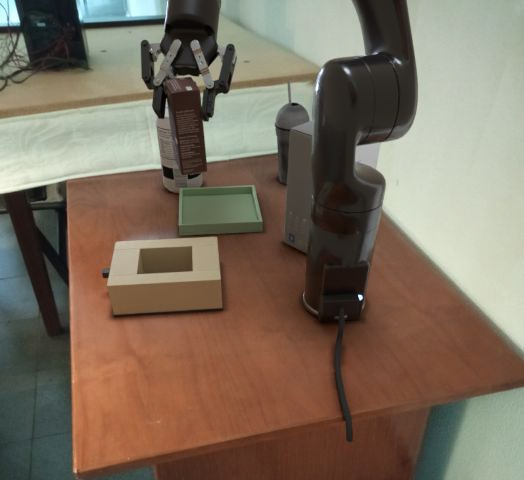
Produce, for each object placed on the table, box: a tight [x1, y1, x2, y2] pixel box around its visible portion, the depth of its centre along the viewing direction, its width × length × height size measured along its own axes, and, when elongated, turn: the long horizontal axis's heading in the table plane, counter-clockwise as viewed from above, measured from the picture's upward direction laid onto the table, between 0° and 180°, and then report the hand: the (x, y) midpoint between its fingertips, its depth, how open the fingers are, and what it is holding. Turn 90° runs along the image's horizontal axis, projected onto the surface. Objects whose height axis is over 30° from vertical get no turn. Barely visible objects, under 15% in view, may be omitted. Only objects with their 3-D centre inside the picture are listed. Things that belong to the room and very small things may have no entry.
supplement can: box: [154, 106, 204, 194], centre depth 100 cm, size 8×8×15 cm
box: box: [164, 76, 208, 175], centre depth 73 cm, size 6×4×12 cm
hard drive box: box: [282, 120, 382, 255], centre depth 84 cm, size 16×8×20 cm, turn 136°
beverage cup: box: [274, 77, 311, 185], centre depth 101 cm, size 7×7×20 cm
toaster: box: [101, 236, 224, 318], centre depth 76 cm, size 12×18×6 cm
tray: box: [178, 184, 264, 237], centre depth 95 cm, size 15×15×2 cm
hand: (182, 117), depth 71 cm, fingers closed on box, 6 cm apart
